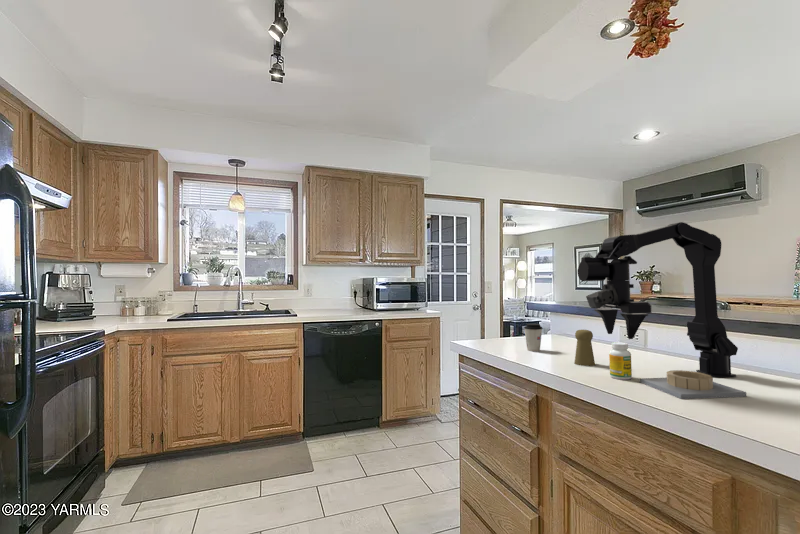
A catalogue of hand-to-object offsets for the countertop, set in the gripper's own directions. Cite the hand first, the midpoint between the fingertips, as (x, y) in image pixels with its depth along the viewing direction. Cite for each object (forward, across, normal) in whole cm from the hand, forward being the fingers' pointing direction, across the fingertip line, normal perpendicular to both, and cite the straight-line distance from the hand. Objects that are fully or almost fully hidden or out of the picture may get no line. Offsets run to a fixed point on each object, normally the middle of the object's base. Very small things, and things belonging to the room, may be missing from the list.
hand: (619, 336), depth 108 cm
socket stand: (+12, +12, +10) cm, 19 cm away
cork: (+12, -17, -1) cm, 21 cm away
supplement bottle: (+12, 0, 0) cm, 12 cm away
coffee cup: (+12, -41, -8) cm, 43 cm away
